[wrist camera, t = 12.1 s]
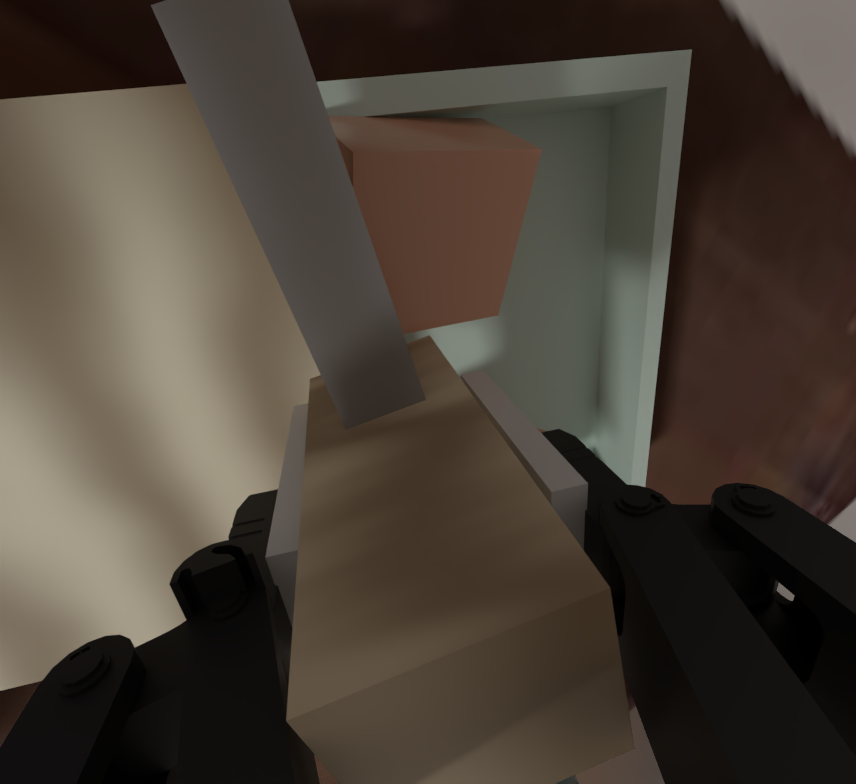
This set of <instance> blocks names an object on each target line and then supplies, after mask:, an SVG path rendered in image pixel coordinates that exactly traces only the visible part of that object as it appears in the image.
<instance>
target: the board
mask: <svg viewBox="0 0 856 784" xmlns="http://www.w3.org/2000/svg"><path fill="white" fill-rule="evenodd" d="M319 375H321V374H320V372H319V370H318V368H317V366H316V363H315V361H314V359H313V357H312V355H311V353H310V350H309V348H308V346H307V344H306V342H305V340H304V337H303V335H302V333H301V331H300V329H299V327H298V324H297V322H296V320H295V318H294V316H293V313H292V311H291V309H290V307H289V305H288V303H287V300H286V298H285V296H284V294H283V292H282V290H281V287H280V285H279V283H278V281H277V279H276V277H275V274H274V272H273V270H272V268H271V266H270V264H269V261H268V259H267V257H266V255H265V253H264V250H263V248H262V246H261V244H260V242H259V240H258V237H257V235H256V233H255V231H254V229H253V227H252V224H251V222H250V220H249V218H248V216H247V214H246V211H245V209H244V207H243V205H242V203H241V201H240V198H239V196H238V194H237V192H236V190H235V187H234V185H233V183H232V181H231V179H230V177H229V174H228V172H227V170H226V168H225V166H224V164H223V161H222V159H221V157H220V155H219V153H218V151H217V148H216V146H215V144H214V142H213V140H212V138H211V135H210V133H209V131H208V129H207V127H206V124H205V122H204V120H203V118H202V116H201V114H200V111H199V109H198V107H197V105H196V103H195V101H194V98H193V96H192V94H191V92H190V90H189V88H188V85H187V84H178V85H166V86H154V87H142V88H130V89H118V90H107V91H95V92H83V93H71V94H59V95H47V96H35V97H23V98H11V99H0V691H2V690H6V689H10V688H14V687H18V686H23V685H27V684H31V683H35V682H39V681H42V680H43V679H44V678H45V677H46V675H47V674H48V673H49V672H50V670H51V669H52V668H53V667H54V666H55V665H57V664H58V663H59V662H60V661H61V660H62V659H63V658H65V657H66V656H67V655H68V654H69V653H71V652H73V651H74V650H76V649H78V648H79V647H81V646H83V645H84V644H86V643H88V642H90V641H93V640H95V639H98V638H101V637H104V636H109V635H122V636H125V637H127V638H129V639H130V640H131V641H132V643H133V645H134V647H137V646H139V645H141V644H143V643H146V642H148V641H150V640H152V639H154V638H156V637H158V636H160V635H162V634H164V633H166V632H168V631H170V630H172V629H173V628H175V627H177V626H179V625H180V624H182V623H183V622H184V621H186V618H185V616H184V614H183V612H182V610H181V608H180V606H179V604H178V602H177V599H176V597H175V595H174V593H173V591H172V589H171V587H170V585H169V584H170V581H171V578H172V576H173V573H174V572H175V571H176V569H177V568H178V567H179V566H180V565H181V564H182V562H183V561H184V560H186V559H187V558H188V557H190V556H191V555H192V554H194V553H195V552H197V551H198V550H200V549H203V548H205V547H207V546H209V545H211V544H214V543H218V542H222V541H226V540H229V538H228V536H229V533H230V530H231V528H232V524H233V520H234V517H235V514H236V511H237V509H238V508H239V507H240V506H241V504H242V503H243V502H244V501H245V500H246V499H247V497H248V496H249V495H253V494H257V493H262V492H267V491H272V490H276V489H278V487H279V482H280V476H281V471H282V466H283V460H284V455H285V450H286V444H287V439H288V434H289V428H290V423H291V418H292V412H293V407H294V406H296V405H301V404H307V403H308V400H309V385H310V379H311V378H314V377H316V376H319Z"/></svg>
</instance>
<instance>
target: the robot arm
mask: <svg viewBox="0 0 856 784" xmlns="http://www.w3.org/2000/svg"><path fill="white" fill-rule="evenodd" d="M461 379H462V381H463V383H464V384H465V385H466V387H467V388H468V389H469V391H470V392H471V394H472V395H473V396H474V398H475V399H476V401H477V402H478V403H479V405H480V406H481V408H482V409H483V410H484V412H485V413H486V415H487V416H488V417H489V419H490V420H491V422H492V423H493V424H494V426H495V427H496V429H497V430H498V431H499V433H500V434H501V436H502V437H503V438H504V440H505V441H506V443H507V444H508V445H509V447H510V448H511V450H512V451H513V452H514V454H515V455H516V457H517V458H518V459H519V461H520V462H521V464H522V465H523V466H524V468H525V469H526V471H527V472H528V473H529V475H530V476H531V478H532V479H533V480H534V482H535V483H536V485H537V486H538V487H539V489H540V490H541V492H542V493H543V494H544V496H545V497H546V499H547V500H548V501H549V503H550V504H551V506H552V507H553V508H554V510H555V511H556V513H557V514H558V515H559V517H560V518H561V520H562V521H563V522H564V524H565V525H566V526H567V528H568V529H569V531H570V532H571V533H572V535H573V536H574V538H575V539H576V540H577V542H578V543H579V545H580V546H581V547H582V549H583V550H584V552H585V553H586V554H587V556H588V557H589V559H590V560H591V561H592V563H593V564H594V566H595V567H596V568H597V570H598V571H599V573H600V574H601V575H602V577H603V578H604V580H605V581H606V582H607V584H608V585H609V587H610V589H611V596H612V603H613V609H614V616H615V622H616V629H617V635H618V642H619V649H620V655H621V662H622V668H623V672H624V675H625V678H626V680H627V683H628V686H629V688H630V691H631V694H632V697H633V699H634V702H635V705H636V707H637V710H638V713H639V715H640V718H641V721H642V723H643V726H644V729H645V731H646V734H647V737H648V739H649V742H650V745H651V747H652V750H653V753H654V755H655V758H656V761H657V763H658V766H659V769H660V771H661V774H662V777H663V779H664V782H665V784H856V543H855V542H854V541H852V540H850V539H849V538H848V537H846V536H844V535H842V534H841V533H840V532H838V531H837V530H835V529H833V528H832V527H830V526H829V525H827V524H826V523H824V522H822V521H821V520H819V519H818V518H816V517H815V516H813V515H811V514H810V513H808V512H807V511H805V510H804V509H802V508H800V507H799V506H797V505H796V504H794V503H793V502H791V501H789V500H788V499H786V498H785V497H783V496H781V495H779V494H777V493H775V492H773V491H771V490H769V489H766V488H762V487H759V486H756V485H751V484H742V483H734V484H725V485H723V486H720V487H718V488H716V489H715V491H714V493H713V494H712V499H711V505H677V504H671V503H670V502H669V501H668V500H667V499H666V498H665V497H664V496H663V495H662V494H660V493H658V492H656V491H654V490H652V489H650V488H646V487H642V486H638V485H627V484H626V483H625V482H624V481H623V480H622V479H621V478H619V477H618V476H617V475H616V474H615V473H614V472H613V471H612V470H611V469H610V468H609V467H608V466H607V465H606V464H605V463H604V462H602V461H601V460H600V459H599V458H598V457H596V456H595V454H594V453H593V452H592V451H591V450H590V449H589V448H586V446H585V445H584V444H583V443H582V442H581V441H580V440H579V439H578V438H577V437H576V436H574V435H572V434H570V433H567V432H565V431H563V430H561V429H555V430H551V431H546V432H540V431H539V430H538V429H537V428H536V427H535V426H534V425H533V424H532V423H531V421H530V420H529V419H528V418H527V417H526V416H525V415H524V414H523V413H522V412H521V411H520V410H519V409H518V407H517V406H516V405H515V404H514V403H513V402H512V401H511V400H510V399H509V398H508V397H507V396H506V395H505V393H504V392H503V391H502V390H501V389H500V388H499V387H498V386H497V385H496V384H495V383H494V382H493V381H492V379H491V378H490V377H489V376H488V375H487V374H486V373H485V372H484V371H479V372H473V373H468V374H462V375H461ZM307 414H308V403H307V404H301V405H296V406H294V407H293V412H292V418H291V423H290V428H289V434H288V439H287V444H286V450H285V455H284V460H283V466H282V471H281V476H280V482H279V487H278V489H276V490H272V491H267V492H262V493H257V494H253V495H249V496H248V497H247V499H246V500H245V501H244V502H243V503H242V504H241V506H240V507H239V508H238V509H237V511H236V514H235V517H234V520H233V524H232V528H231V530H230V533H229V536H228V538H229V540H226V541H222V542H218V543H214V544H211V545H209V546H207V547H205V548H203V549H200V550H198V551H197V552H195V553H194V554H192V555H191V556H190V557H188V558H187V559H186V560H184V561H183V562H182V564H181V565H180V566H179V567H178V568H177V569H176V571H175V572H174V573H173V576H172V578H171V581H170V584H169V585H170V587H171V589H172V591H173V593H174V595H175V597H176V599H177V602H178V604H179V606H180V608H181V610H182V612H183V614H184V616H185V618H186V621H184V622H183V623H182V624H180V625H179V626H177V627H175V628H173V629H172V630H170V631H168V632H166V633H164V634H162V635H160V636H158V637H156V638H154V639H152V640H150V641H148V642H146V643H143V644H141V645H139V646H137V647H134V645H133V643H132V641H131V640H130V639H129V638H127V637H125V636H122V635H109V636H104V637H101V638H98V639H95V640H93V641H90V642H88V643H86V644H84V645H83V646H81V647H79V648H78V649H76V650H74V651H73V652H71V653H69V654H68V655H67V656H66V657H65V658H63V659H62V660H61V661H60V662H59V663H58V664H57V665H55V666H54V667H53V668H52V669H51V670H50V672H49V673H48V674H47V675H46V677H45V678H44V679H43V680H42V682H41V683H40V684H39V686H38V687H37V689H36V691H35V692H34V694H33V696H32V697H31V699H30V700H29V702H28V704H27V705H26V707H25V708H24V710H23V712H22V713H21V715H20V717H19V718H18V720H17V721H16V723H15V725H14V726H13V728H12V730H11V731H10V733H9V734H8V736H7V738H6V739H5V741H4V742H3V744H2V746H1V747H0V784H320V783H319V778H318V773H317V768H316V763H315V758H314V753H313V752H312V751H311V749H310V748H309V747H308V746H307V745H306V744H305V742H304V741H303V740H302V739H301V738H300V737H299V736H298V734H297V733H296V732H295V731H294V730H293V729H292V727H291V726H290V725H289V724H288V723H287V722H286V715H287V701H288V686H289V672H290V658H291V643H292V629H293V615H294V600H295V586H296V572H297V557H298V543H299V529H300V514H301V500H302V486H303V471H304V457H305V443H306V428H307ZM778 583H781V584H782V585H783V586H784V587H785V588H786V589H788V590H789V591H790V592H791V593H792V594H794V595H795V597H794V600H793V601H790V600H788V599H786V598H785V597H783V596H782V595H780V594H779V593H778V592H777V591H776V590H777V587H778Z"/></svg>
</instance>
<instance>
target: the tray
mask: <svg viewBox="0 0 856 784" xmlns="http://www.w3.org/2000/svg"><path fill="white" fill-rule="evenodd" d="M691 54H692V49H691V50H679V51H667V52H656V53H644V54H633V55H621V56H610V57H598V58H587V59H575V60H564V61H552V62H541V63H529V64H517V65H506V66H494V67H483V68H471V69H460V70H448V71H437V72H425V73H414V74H402V75H391V76H379V77H367V78H356V79H344V80H333V81H321V82H317V85H318V87H319V90H320V93H321V96H322V99H323V102H324V105H325V108H326V111H327V114H328V116H359V117H434V118H483V119H485V120H486V121H488V122H490V123H492V124H494V125H496V126H498V127H500V128H502V129H504V130H506V131H508V132H510V133H512V134H514V135H516V136H518V137H520V138H522V139H524V140H525V141H527V142H529V143H531V144H533V145H535V146H537V147H539V148H541V149H542V151H541V154H540V158H539V162H538V166H537V170H536V173H535V177H534V181H533V185H532V189H531V192H530V196H529V200H528V204H527V208H526V212H525V215H524V219H523V223H522V227H521V231H520V234H519V238H518V242H517V246H516V250H515V254H514V257H513V261H512V265H511V269H510V273H509V276H508V280H507V284H506V288H505V292H504V296H503V299H502V303H501V307H500V311H499V315H498V316H493V317H488V318H483V319H478V320H473V321H468V322H463V323H457V324H452V325H447V326H442V327H437V328H432V329H427V330H422V331H417V332H412V333H407V334H404V337H405V340H406V343H410V342H412V341H415V340H418V339H421V338H423V337H426V336H429V335H430V336H431V338H432V339H433V341H434V342H435V343H436V345H437V346H438V348H439V349H440V350H441V352H442V353H443V355H444V356H445V357H446V359H447V360H448V362H449V363H450V364H451V366H452V367H453V369H454V370H455V371H456V373H457V374H458V376H459V377H460V378H461V375H462V374H468V373H473V372H479V371H484V372H485V373H486V374H487V375H488V376H489V377H490V378H491V379H492V381H493V382H494V383H495V384H496V385H497V386H498V387H499V388H500V389H501V390H502V391H503V392H504V393H505V395H506V396H507V397H508V398H509V399H510V400H511V401H512V402H513V403H514V404H515V405H516V406H517V407H518V409H519V410H520V411H521V412H522V413H523V414H524V415H525V416H526V417H527V418H528V419H529V420H530V421H531V423H532V424H533V425H534V426H535V427H536V428H538V429H542V430H545V431H551V430H555V429H561V430H563V431H565V432H567V433H570V434H572V435H574V436H576V437H577V438H578V439H579V440H580V441H581V442H582V443H583V444H584V445H585V446H586V448H589V449H590V450H591V451H592V452H593V453H594V454H595V456H596V457H598V458H599V459H600V460H601V461H602V462H604V463H605V464H606V465H607V466H608V467H609V468H610V469H611V470H612V471H613V472H614V473H615V474H616V475H617V476H618V477H619V478H621V479H622V480H623V481H624V482H625V483H626V484H627V485H638V486H642V487H645V483H646V474H647V465H648V455H649V446H650V437H651V427H652V418H653V409H654V399H655V390H656V381H657V371H658V362H659V353H660V343H661V334H662V325H663V315H664V306H665V297H666V287H667V278H668V269H669V259H670V250H671V241H672V231H673V222H674V213H675V203H676V194H677V185H678V175H679V166H680V157H681V147H682V138H683V129H684V119H685V110H686V101H687V91H688V82H689V73H690V63H691ZM461 380H462V379H461Z"/></svg>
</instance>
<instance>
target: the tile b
mask: <svg viewBox="0 0 856 784" xmlns="http://www.w3.org/2000/svg"><path fill="white" fill-rule="evenodd" d="M329 119H330V122H331V125H332V128H333V131H334V134H335V137H336V140H337V143H338V146H339V148H340V151H341V154H342V157H343V160H344V163H345V166H346V169H347V172H348V175H349V177H350V180H351V183H352V186H353V189H354V192H355V195H356V198H357V201H358V204H359V207H360V209H361V212H362V215H363V218H364V221H365V224H366V227H367V230H368V233H369V236H370V238H371V241H372V244H373V247H374V250H375V253H376V256H377V259H378V262H379V265H380V268H381V270H382V273H383V276H384V279H385V282H386V285H387V288H388V291H389V294H390V297H391V299H392V302H393V305H394V308H395V311H396V314H397V317H398V320H399V323H400V326H401V329H402V331H403V334H407V333H412V332H417V331H422V330H427V329H432V328H437V327H442V326H447V325H452V324H457V323H463V322H468V321H473V320H478V319H483V318H488V317H493V316H498V315H499V311H500V307H501V303H502V299H503V296H504V292H505V288H506V284H507V280H508V276H509V273H510V269H511V265H512V261H513V257H514V254H515V250H516V246H517V242H518V238H519V234H520V231H521V227H522V223H523V219H524V215H525V212H526V208H527V204H528V200H529V196H530V192H531V189H532V185H533V181H534V177H535V173H536V170H537V166H538V162H539V158H540V154H541V151H542V149H541V148H539V147H537V146H535V145H533V144H531V143H529V142H527V141H525V140H524V139H522V138H520V137H518V136H516V135H514V134H512V133H510V132H508V131H506V130H504V129H502V128H500V127H498V126H496V125H494V124H492V123H490V122H488V121H486V120H485V119H483V118H434V117H359V116H329Z"/></svg>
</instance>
